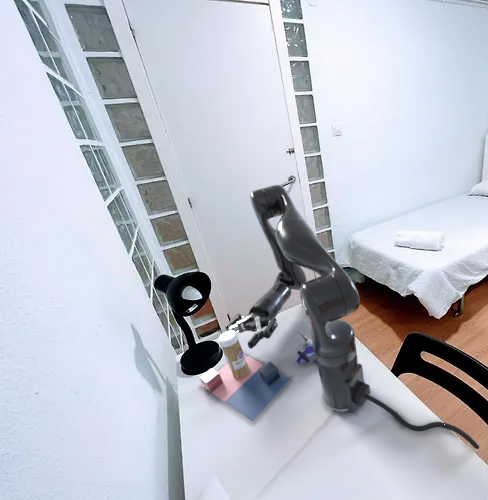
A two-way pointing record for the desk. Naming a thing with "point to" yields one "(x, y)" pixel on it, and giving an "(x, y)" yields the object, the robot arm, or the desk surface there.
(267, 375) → the blue block
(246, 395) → the sorting board
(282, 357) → the desk surface
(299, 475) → the desk surface
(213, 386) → the pink block
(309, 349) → the toy airplane
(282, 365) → the desk surface
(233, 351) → the sprinkles bottle
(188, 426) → the desk surface
